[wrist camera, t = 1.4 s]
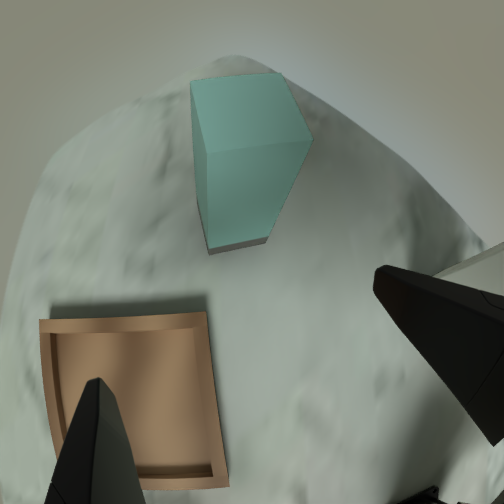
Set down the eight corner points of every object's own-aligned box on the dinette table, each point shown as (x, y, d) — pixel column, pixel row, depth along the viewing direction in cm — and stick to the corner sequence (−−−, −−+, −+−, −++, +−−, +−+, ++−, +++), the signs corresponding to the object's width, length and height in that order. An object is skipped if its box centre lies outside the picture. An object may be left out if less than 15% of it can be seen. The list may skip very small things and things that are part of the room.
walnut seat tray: (206, 314, 22) (205, 311, 21) (228, 478, 19) (229, 486, 17) (48, 321, 20) (39, 319, 19) (70, 474, 17) (62, 480, 15)
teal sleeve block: (250, 193, 26) (280, 72, 14) (265, 243, 25) (313, 139, 12) (197, 203, 25) (190, 81, 13) (208, 255, 24) (206, 153, 12)
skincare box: (422, 333, 24) (528, 310, 13) (406, 289, 25) (506, 245, 14) (462, 306, 25) (556, 275, 14) (447, 267, 26) (537, 221, 15)
